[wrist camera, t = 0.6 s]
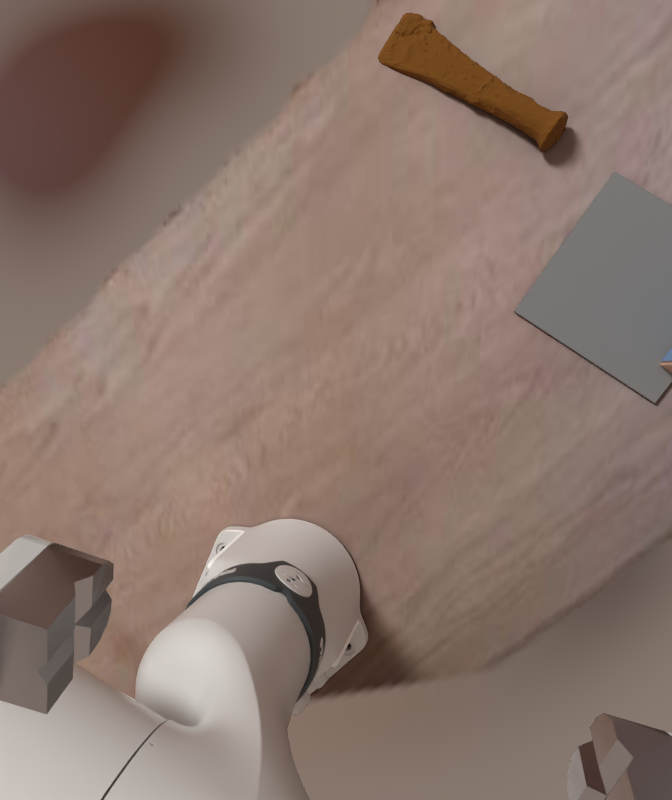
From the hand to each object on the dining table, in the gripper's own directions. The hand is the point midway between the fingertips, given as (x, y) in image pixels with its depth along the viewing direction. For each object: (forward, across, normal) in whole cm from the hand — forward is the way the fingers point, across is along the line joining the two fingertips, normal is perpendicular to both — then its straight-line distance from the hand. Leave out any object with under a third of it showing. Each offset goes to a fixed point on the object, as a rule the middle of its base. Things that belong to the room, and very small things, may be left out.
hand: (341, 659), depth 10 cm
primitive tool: (+57, 0, +13) cm, 59 cm away
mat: (+50, +19, 0) cm, 53 cm away
